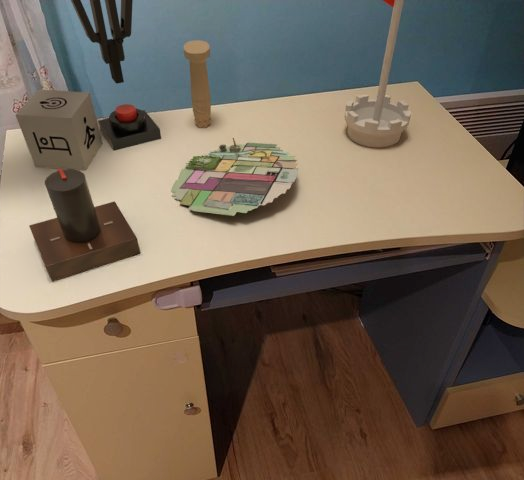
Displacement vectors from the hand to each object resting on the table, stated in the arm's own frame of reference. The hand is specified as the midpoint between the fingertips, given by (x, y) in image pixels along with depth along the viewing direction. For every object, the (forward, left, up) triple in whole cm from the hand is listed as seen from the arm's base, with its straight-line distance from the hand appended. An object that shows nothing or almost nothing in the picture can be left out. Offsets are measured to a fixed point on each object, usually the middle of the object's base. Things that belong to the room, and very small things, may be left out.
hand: (117, 80), depth 94 cm
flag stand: (+23, +45, -11) cm, 52 cm away
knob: (+31, -18, -8) cm, 37 cm away
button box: (0, 0, -11) cm, 11 cm away
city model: (+26, +11, -11) cm, 31 cm away
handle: (+3, +15, -11) cm, 19 cm away
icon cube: (+2, -13, -11) cm, 17 cm away
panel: (+31, -18, -11) cm, 37 cm away
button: (0, 0, -7) cm, 7 cm away
